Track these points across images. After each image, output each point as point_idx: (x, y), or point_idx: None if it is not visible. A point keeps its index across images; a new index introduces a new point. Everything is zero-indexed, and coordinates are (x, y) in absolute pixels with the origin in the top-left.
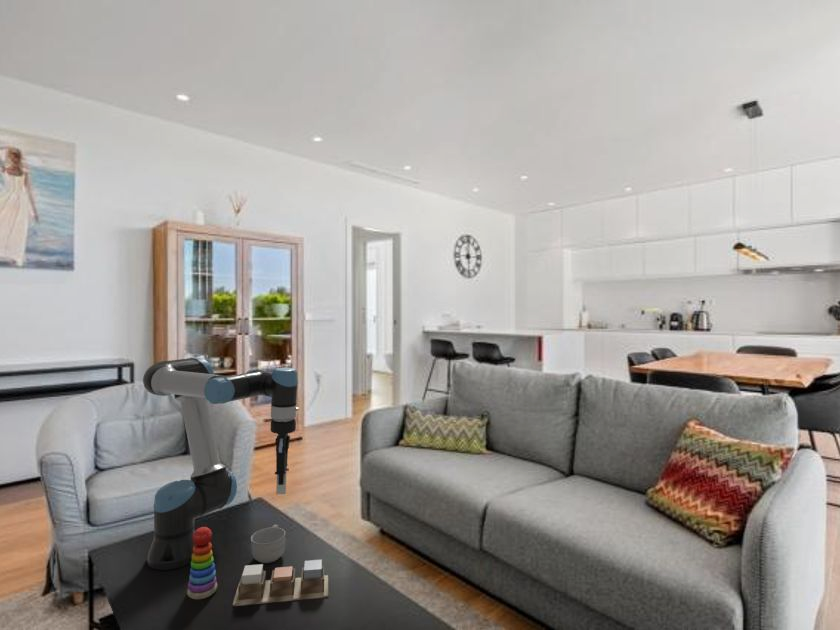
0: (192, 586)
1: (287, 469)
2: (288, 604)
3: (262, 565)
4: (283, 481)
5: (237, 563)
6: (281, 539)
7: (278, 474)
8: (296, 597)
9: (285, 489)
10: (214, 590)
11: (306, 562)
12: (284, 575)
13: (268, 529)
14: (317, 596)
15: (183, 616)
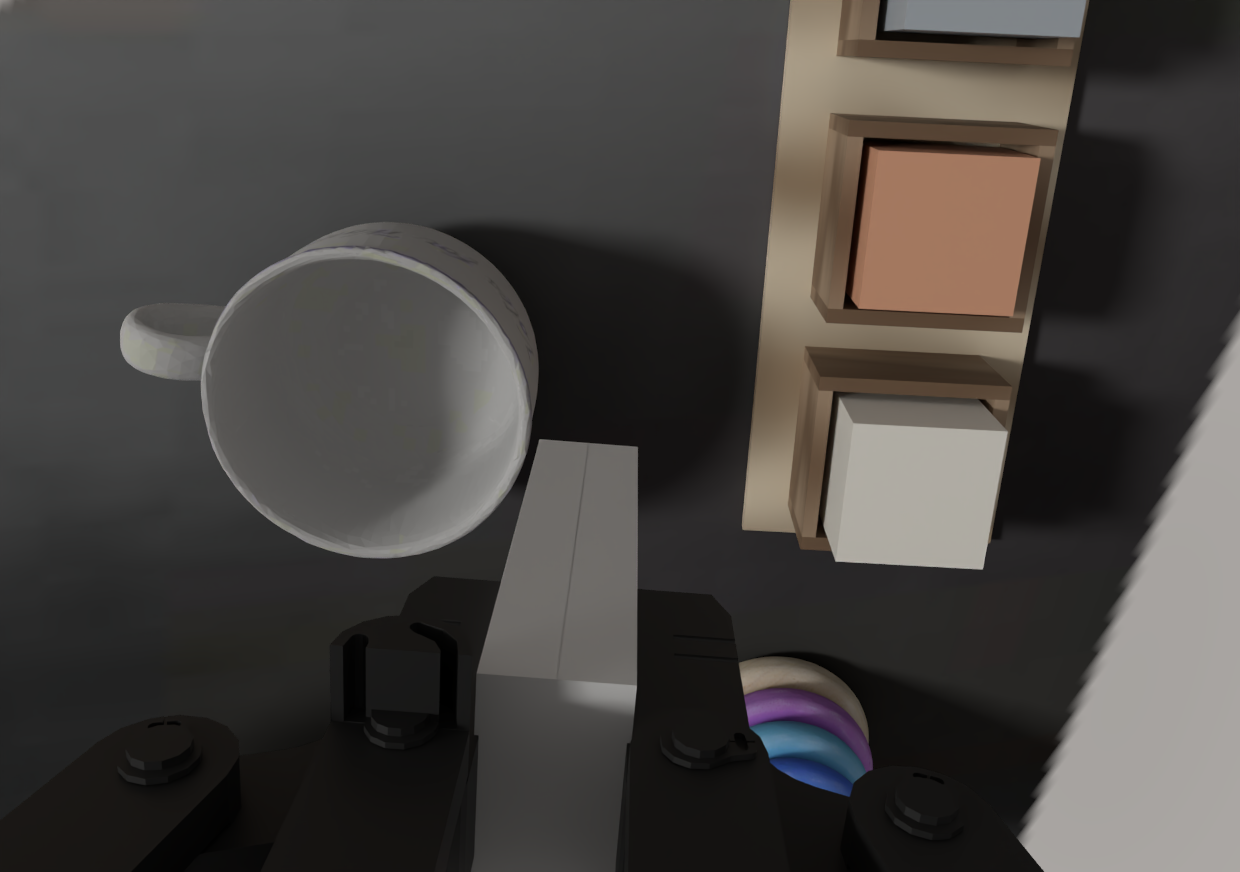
0: None
1: (444, 685)
2: (1096, 161)
3: (872, 425)
4: (663, 622)
5: (461, 561)
6: (456, 280)
7: (616, 860)
8: (1057, 99)
9: (622, 479)
10: (822, 671)
11: (939, 10)
12: (1009, 222)
13: (222, 413)
14: None
15: (993, 781)
